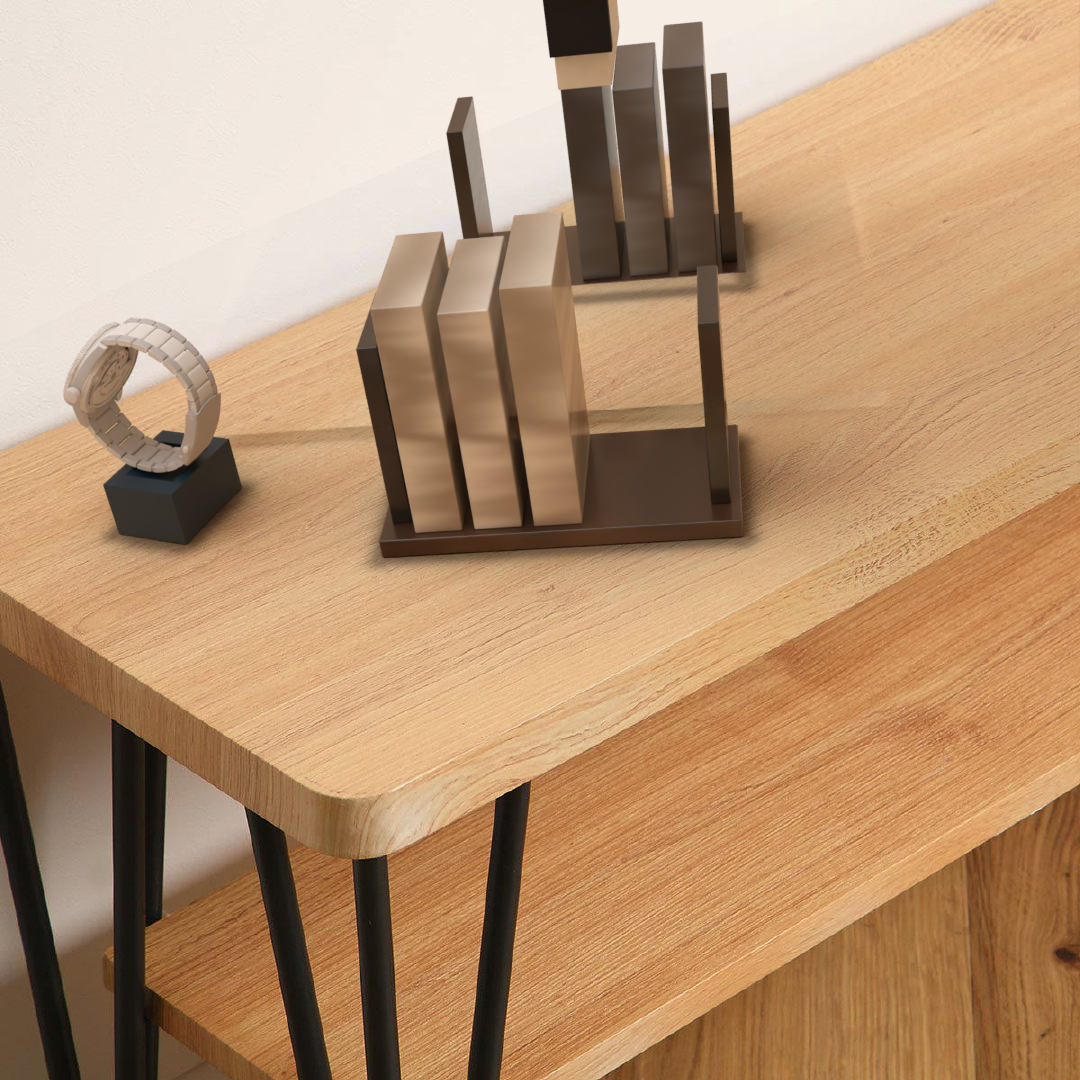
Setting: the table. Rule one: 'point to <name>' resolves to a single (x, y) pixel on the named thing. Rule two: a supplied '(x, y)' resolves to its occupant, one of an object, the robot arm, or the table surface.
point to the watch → (171, 457)
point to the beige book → (590, 62)
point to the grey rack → (632, 169)
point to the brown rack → (525, 409)
